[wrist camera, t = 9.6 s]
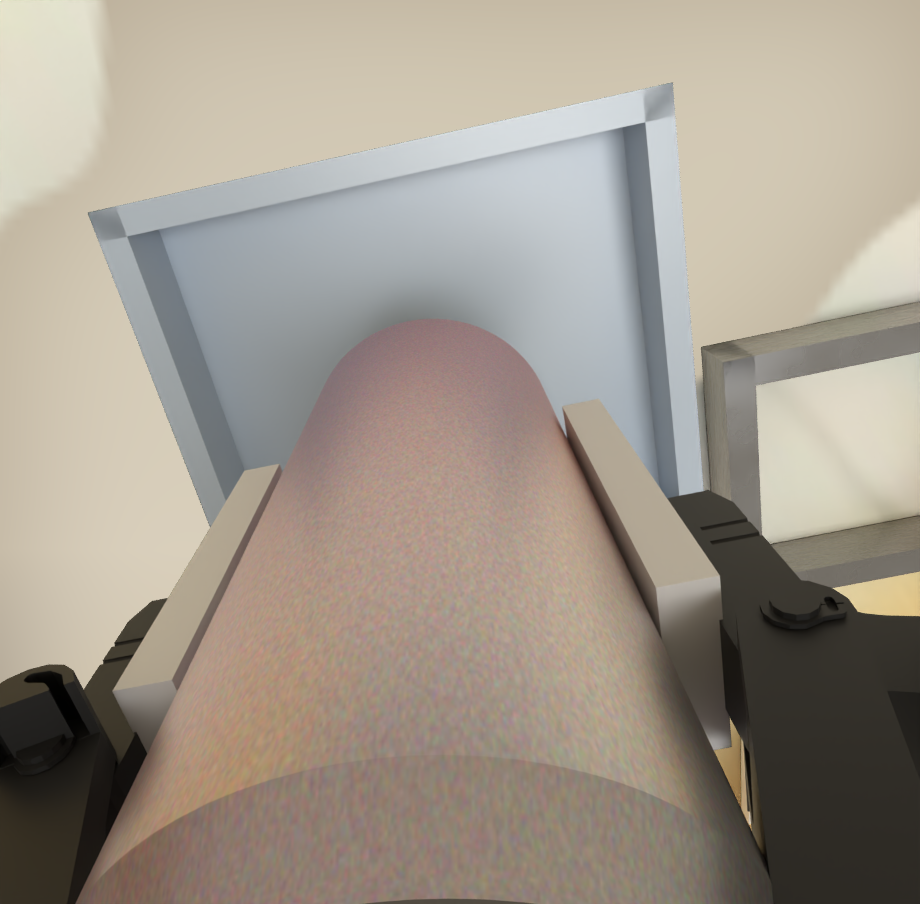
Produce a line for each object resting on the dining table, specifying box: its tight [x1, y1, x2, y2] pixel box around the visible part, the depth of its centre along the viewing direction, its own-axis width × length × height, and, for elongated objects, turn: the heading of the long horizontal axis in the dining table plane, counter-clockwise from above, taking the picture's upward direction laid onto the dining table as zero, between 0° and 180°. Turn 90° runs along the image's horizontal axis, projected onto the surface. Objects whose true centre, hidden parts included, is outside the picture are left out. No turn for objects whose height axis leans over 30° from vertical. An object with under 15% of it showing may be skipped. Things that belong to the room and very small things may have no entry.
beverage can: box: [75, 319, 774, 904], centre depth 11 cm, size 6×6×15 cm
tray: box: [88, 83, 704, 527], centre depth 23 cm, size 16×14×3 cm
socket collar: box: [701, 302, 920, 588], centre depth 25 cm, size 10×10×2 cm
